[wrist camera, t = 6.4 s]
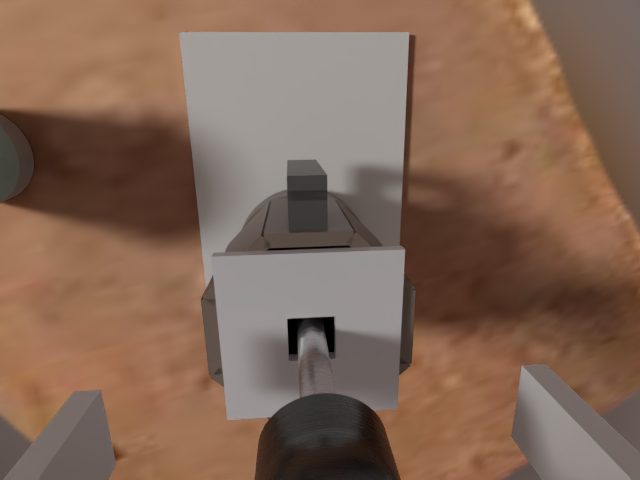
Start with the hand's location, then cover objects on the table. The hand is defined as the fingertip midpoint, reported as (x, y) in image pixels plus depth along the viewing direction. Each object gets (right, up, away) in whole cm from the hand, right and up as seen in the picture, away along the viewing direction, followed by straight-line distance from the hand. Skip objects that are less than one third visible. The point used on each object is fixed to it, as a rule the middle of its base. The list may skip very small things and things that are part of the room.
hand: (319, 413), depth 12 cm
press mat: (-1, +9, +15) cm, 17 cm away
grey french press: (-1, +6, +15) cm, 16 cm away
